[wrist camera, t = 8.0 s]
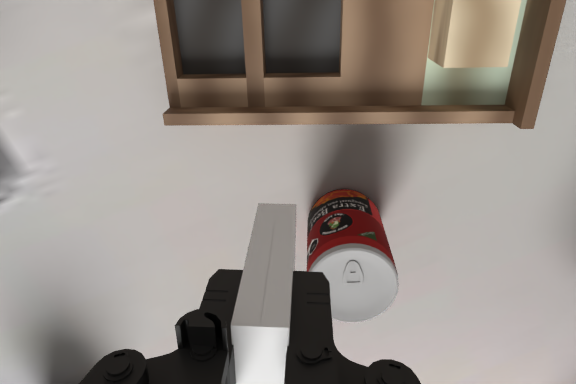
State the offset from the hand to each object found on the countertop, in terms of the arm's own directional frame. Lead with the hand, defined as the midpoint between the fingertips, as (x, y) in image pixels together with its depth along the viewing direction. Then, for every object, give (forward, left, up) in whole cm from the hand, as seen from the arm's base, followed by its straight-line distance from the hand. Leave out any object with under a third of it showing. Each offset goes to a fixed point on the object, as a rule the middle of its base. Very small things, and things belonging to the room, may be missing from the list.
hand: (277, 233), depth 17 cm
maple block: (-13, -6, -22) cm, 26 cm away
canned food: (-5, +14, -24) cm, 28 cm away
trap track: (-4, -5, -24) cm, 25 cm away
